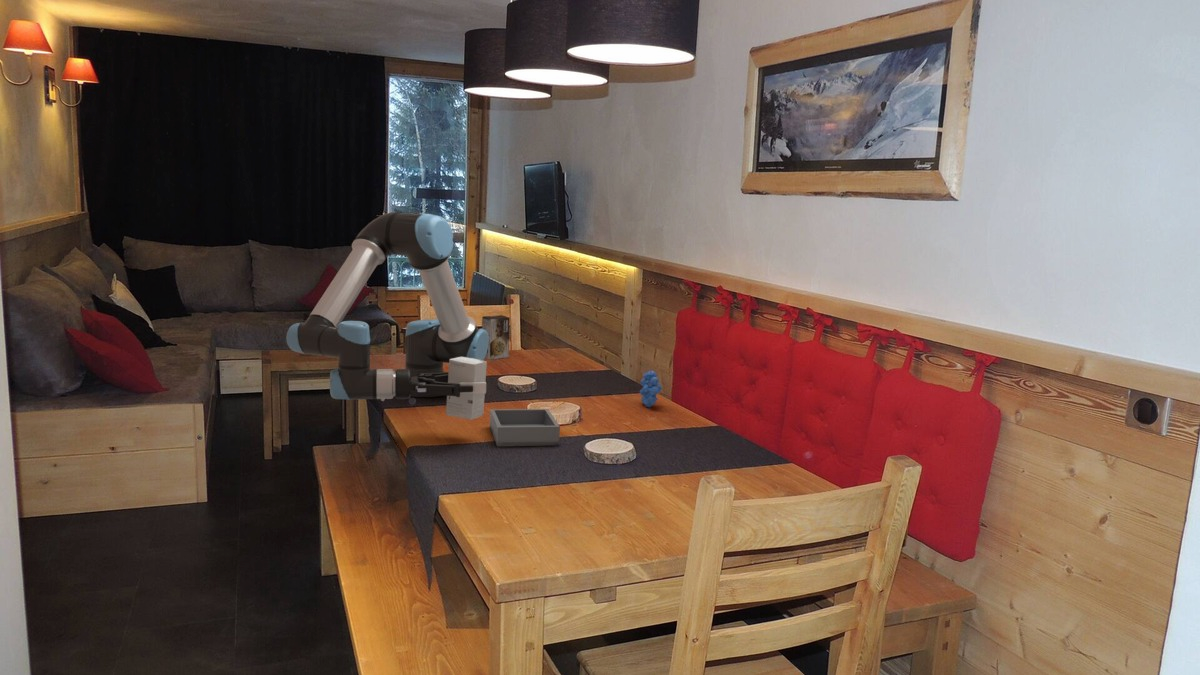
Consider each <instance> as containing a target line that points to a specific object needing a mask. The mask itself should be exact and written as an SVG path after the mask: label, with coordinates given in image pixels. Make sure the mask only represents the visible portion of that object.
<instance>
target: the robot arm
mask: <svg viewBox="0 0 1200 675" xmlns="http://www.w3.org/2000/svg"><path fill="white" fill-rule="evenodd" d="M453 239H454V231H453V228H452V227H451V225H450V224H449V222H448V220H446V218H444V217H442V216H440V215H435V214H432V213H425V214H424V213H423V214H421V213H405V212H398V211H397V212H395V211H393V212H387V213H384V214H381V215H380V216H378V217H376V218H374V219H373V220H372V221H371V222H368V224H367V225H366V226H365V227H363V229H361V231H360V232H359V233H358V234H357V236H356V237H355V239H354V240H353V242H352V243H351V248H352V250H351V252H349V255H348V256H347V258H346V259H345V261H344V262H343V264H342V265H341V267H340V268H339V270H338V271H337V273H336V275H335V276H334V277H333V279H332V281H330V284H329V285H328V286H327V288H326V290H325V291H324V293H323V294H322V296H321V298H319V300H318V301H317V303H316V305H315V306H314V308H313V310H312V311H311V312H310V314H309V316H308V317H307V318H306V320H305V322H296V323H294V324H292V325H291V326H290V327H289V328H288V330H287V332H286V337H285V338H286V339H285V340H286V344H287V346H288V347H289V349H290V350H291V351H293V352H296V353H300V354H303V355H311V356H320V357H321V356H322V357H327V358H335V359H337V360H338V366H337V367H338V368H336V369H332V370H330V373H329V393H330V396H331V398H332V399H335V400H348V401H353V400H380V401H382V402H384V401H385V399H386V400H391V399H394V397H395V399H396V400H408V399H410V398H411V397H413V398H434V397H435V398H436V397H441V396H443V397H445V396H446V397H447V396H456V397H460V394H482V393H485V394H486V393H487V382H486V381H485V382H467V383H460V384H455V383H448V374H449V371H444V363H445V364H449V359H453V358H457V357H467V358H473V359H477V360H482V361H485V359H486V358H485V356H486V353H487V350H488V344H489V337H488V333H487V331H486V330H483V329H482V328H479V327H478V326H477V323H476V320H474V318H473V317H472V316H469V315H468V314H467V311H466V308H465V304H464V303H463V300H462V297H461V293H460V292H459V289H458V286H457V284H456V280H455V277H454V274H453V271H452V270H451V266H450V264H449V261H448V260H449V258H450V256H451V252H452V251H453V248H454V241H453ZM392 255H395V256H397V255H398V256H405V257H406V258H407V259H408V263H409V265H410V267H411V268H413V269H414V270H417V271H418V272H419V276H420V278H421V280H422V283H423V285H424V289H425V290H426V292H427V296H428V298H429V300H430V302H431V305H432V308H433V310H434V313H435V316H436V318H432V319H431V318H429V319H428V318H427V319H418V320H413V321H410V322H408V323H407V325H406V329H405V336H404V337H405V368H397V369H395V370H394V369H393V368H378V369H377V368H376V369H375V368H374V369H371V368H370V366H371V365H370V362H371V361H370V360H371V336H370V334H371V333H370V325H369V324H368V323H367V322H365V321H362V320H344V318H345V317H346V315H347V313H348V312H349V310H350V309H351V307H352V306H353V304H354V303H355V301H356V300H357V298H358V296H359V294H360V293H361V291H362V290H363V288H364V286H365V285H366V283H367V282H368V280H369V278H370V277H371V275H372V274H373V272H374V271H375V269H376V268H377V266H378V265H382V264H383V263H384V262H385V261H386V259H387V257H389V256H392Z"/></svg>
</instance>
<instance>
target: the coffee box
mask: <svg viewBox="0 0 1200 675" xmlns="http://www.w3.org/2000/svg"><path fill="white" fill-rule="evenodd" d="M510 319H511V318H510V317H508V316H506V315H502V314H500V315H496V314H495V315H486V316H482V321H481V323H482V324H481V329H483V330H486V331H487V333H488V337H489V344H488V350H487V353H486V356H485V358H484V359H487V360H497V359H504V358H505V359H507V358H509V357H510V321H511V320H510Z"/></svg>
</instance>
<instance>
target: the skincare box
mask: <svg viewBox="0 0 1200 675" xmlns="http://www.w3.org/2000/svg"><path fill="white" fill-rule="evenodd" d="M487 362H488V361H485V360H483V361H482V360H477V359H473V358H467V357H457V358H453V359H449V363H448V372H449V374H448V383H455V384H460V383H467V382H486V378H487V366H488V363H487ZM485 395H486V393H482V394H460V397H456V396H446V405H445V406H446V407H445V409H446V410H445V414H446V416H449V417H456V418H461V419H466V420H470V421H472V420H475V419H478V418H480V417H483V416H484V411H485V410H484V408H485V407H484V406H485V397H486V396H485Z"/></svg>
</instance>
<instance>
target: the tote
mask: <svg viewBox="0 0 1200 675" xmlns="http://www.w3.org/2000/svg"><path fill="white" fill-rule="evenodd" d="M560 426H561V425H560V424H559V423H558V422H557V420H556V419H555V417H554V416H553V414H552V413H551V412H550V410H549V409H548V408H503V409H502V408H500V409H496V408H493V409H492V408H490V409H489V429H490V432H491V434H492V437H493V439H494V441H495V444H496V446H497V447H533V446H534V447H541V446H559V445H560V437H561V435H560V434H561V433H560V432H561V428H560Z"/></svg>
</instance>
